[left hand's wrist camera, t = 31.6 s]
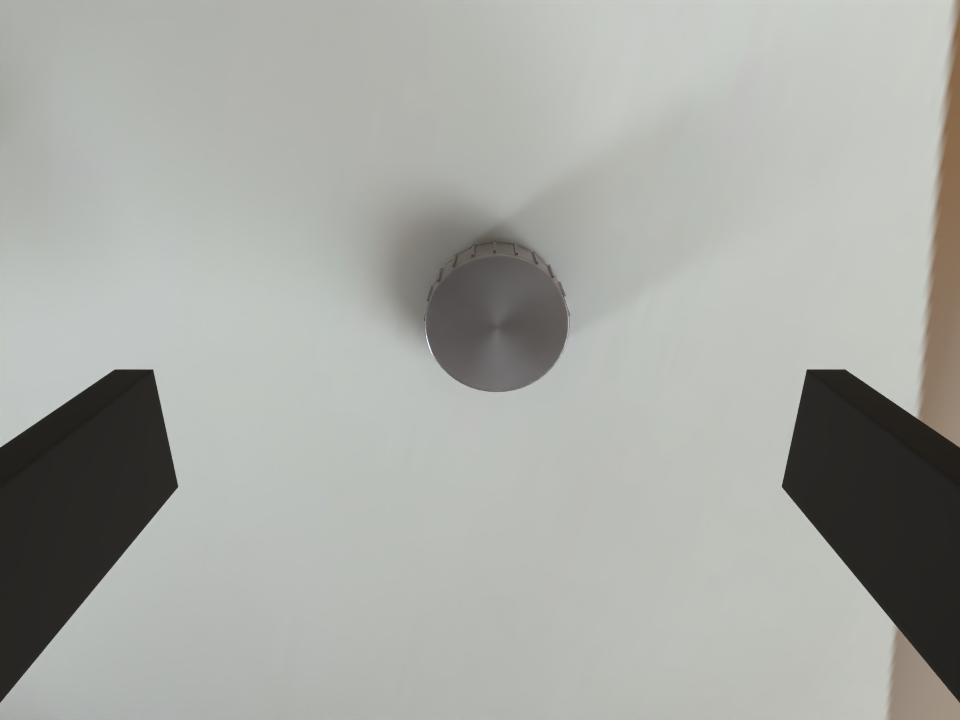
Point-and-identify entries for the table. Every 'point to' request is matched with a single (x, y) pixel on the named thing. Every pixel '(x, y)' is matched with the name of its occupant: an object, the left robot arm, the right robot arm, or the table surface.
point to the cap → (496, 317)
